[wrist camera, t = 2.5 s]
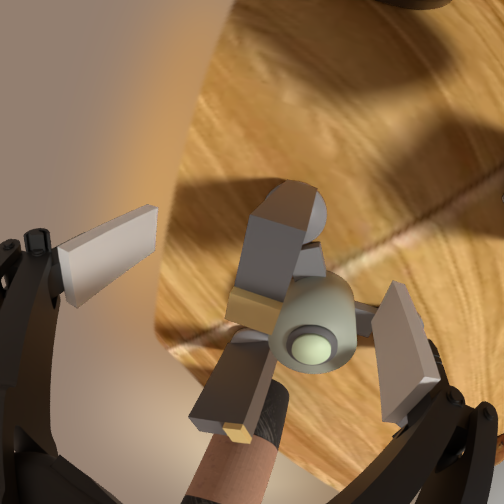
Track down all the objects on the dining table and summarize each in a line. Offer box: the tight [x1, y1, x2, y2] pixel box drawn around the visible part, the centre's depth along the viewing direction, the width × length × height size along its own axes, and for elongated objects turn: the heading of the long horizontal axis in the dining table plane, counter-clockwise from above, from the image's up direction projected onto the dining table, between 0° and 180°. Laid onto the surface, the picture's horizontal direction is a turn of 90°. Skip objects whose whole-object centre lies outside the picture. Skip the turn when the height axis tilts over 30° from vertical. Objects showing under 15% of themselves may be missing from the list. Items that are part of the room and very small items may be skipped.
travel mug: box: [181, 379, 289, 504], centre depth 24 cm, size 8×8×20 cm
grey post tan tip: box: [188, 328, 277, 444], centre depth 24 cm, size 5×5×12 cm
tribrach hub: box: [265, 242, 378, 374], centre depth 22 cm, size 12×11×7 cm
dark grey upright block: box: [225, 179, 327, 335], centre depth 17 cm, size 5×5×12 cm
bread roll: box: [494, 434, 504, 466], centre depth 25 cm, size 10×10×8 cm
